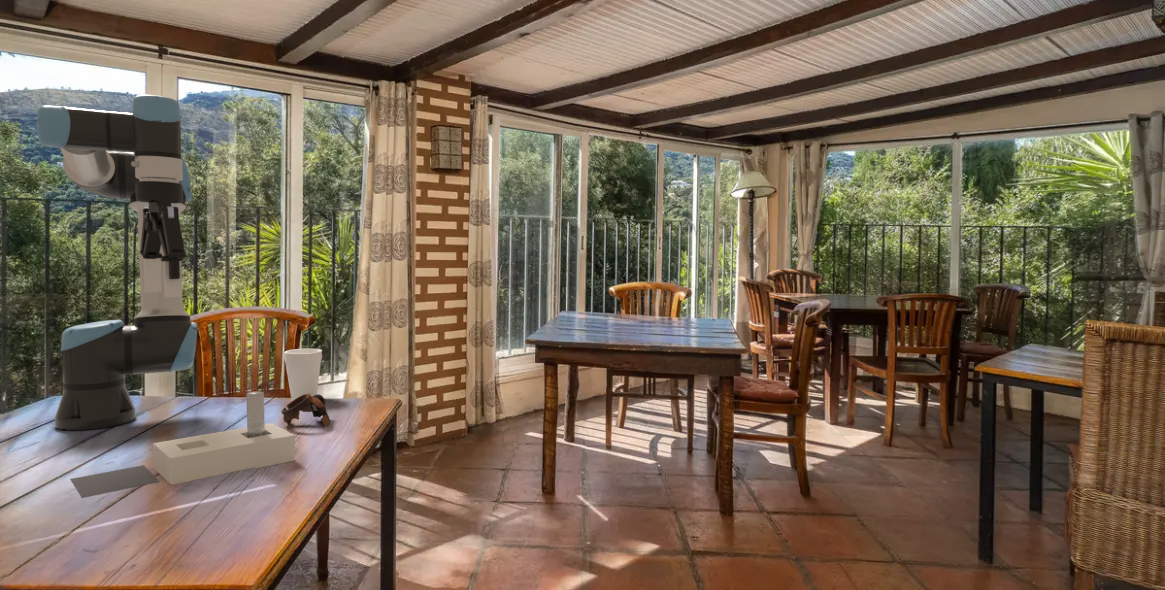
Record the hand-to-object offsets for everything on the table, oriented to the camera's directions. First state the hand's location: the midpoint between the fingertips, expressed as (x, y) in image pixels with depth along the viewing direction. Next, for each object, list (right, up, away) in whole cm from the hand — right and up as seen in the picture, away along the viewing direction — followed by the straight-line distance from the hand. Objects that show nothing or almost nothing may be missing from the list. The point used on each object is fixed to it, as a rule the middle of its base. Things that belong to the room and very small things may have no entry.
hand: (163, 294), depth 127 cm
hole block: (+12, -32, 0) cm, 34 cm away
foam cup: (+4, -28, +55) cm, 62 cm away
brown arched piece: (+16, -31, +30) cm, 45 cm away
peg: (+16, -32, +4) cm, 36 cm away
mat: (-2, -33, -10) cm, 34 cm away
